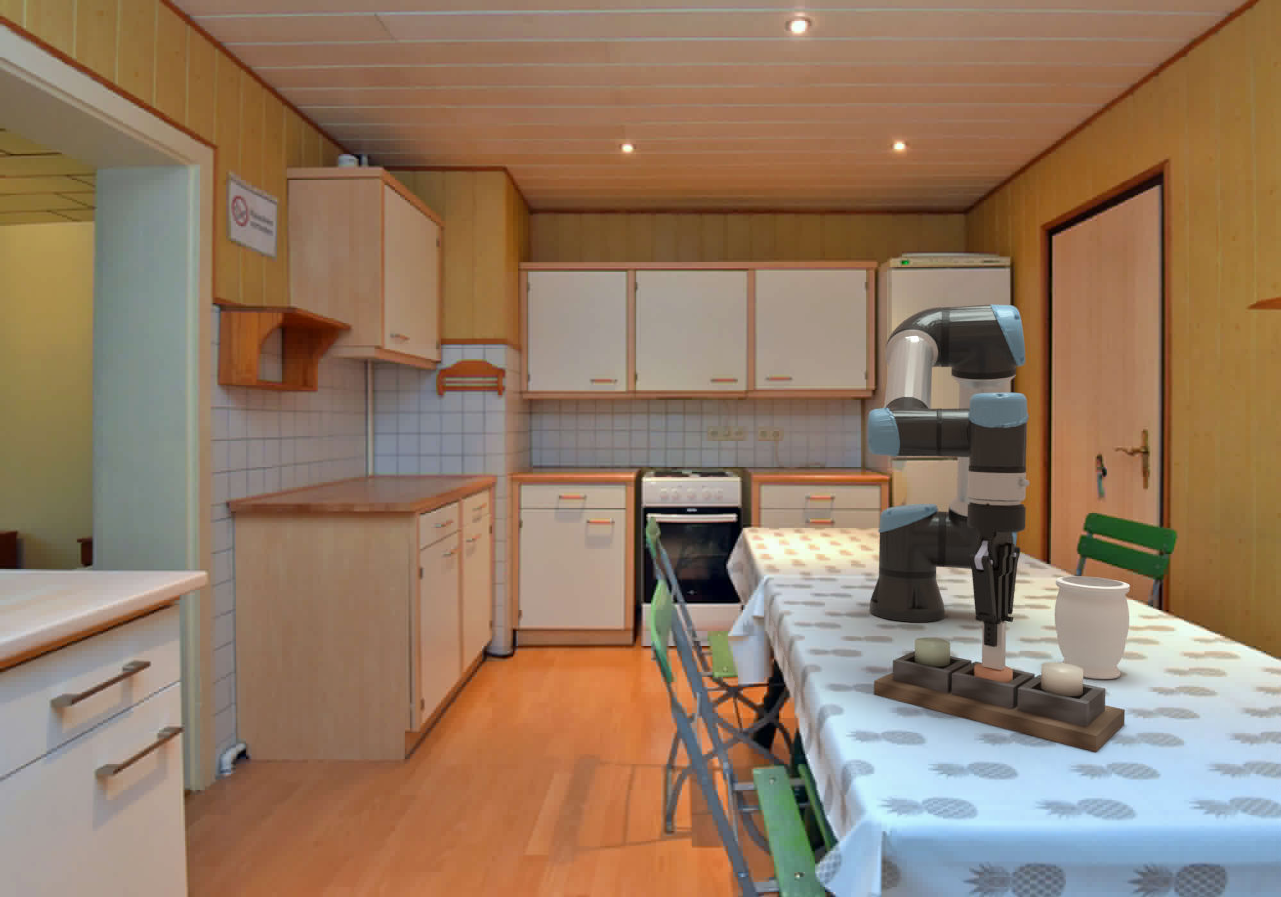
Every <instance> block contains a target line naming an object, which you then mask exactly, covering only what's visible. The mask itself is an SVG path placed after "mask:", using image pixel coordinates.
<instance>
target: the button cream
mask: <svg viewBox="0 0 1281 897" xmlns="http://www.w3.org/2000/svg"><path fill="white" fill-rule="evenodd" d="M1040 668H1041V669H1040V670H1041V671H1040V675H1041V689H1043V690H1044V691H1046V692H1049V693H1053V694H1057V695H1062V696H1080V695H1082V694H1083V684H1084V677H1083V669H1081V668H1080V667H1077V666H1074V665H1070V664H1065V663H1062V662H1056V661H1055V662H1054V661H1051V662H1043V663H1042V664H1041V666H1040Z"/></svg>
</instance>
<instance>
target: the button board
mask: <svg viewBox="0 0 1281 897" xmlns="http://www.w3.org/2000/svg"><path fill="white" fill-rule="evenodd" d="M980 663H982V661H981V662H980V661H974V662H972V660H971V659H967V658H966V659H965V658H960V657H957V656H951V655H950V665H948V666H944V667H932V666H927V665H922V664H919V663H917V662H915V650H913V651H911V652H909V653H905V655H904V654H903V655H902V656H900V657H898V658H895V659H893V660H892V672H891V673H890V672H889V674H886V675H884V676H882V677H880V678H877V679H876V680H874V682H873V695H876V696H879V697H883V698H887V699H892V700H895V701H899V702H903V703H906V704H911V705H915V706H918V707H922V708H925V709H929V710H932V711H933V710H934V711H937V712H941V713H944V714H949V715H953V716H957V717H959V718H964V719H968V720H971V721H976V722H978V723H979V722H980V723H983V724H986V725H990V726H994V727H999V728H1002V729H1005V730H1009V731H1013V732H1014V731H1015V732H1018V733H1021V734H1026V735H1030V736H1032V737H1037V738H1041V739H1044V740H1048V741H1053V742H1055V743H1060V744H1064V745H1066V746H1072V747H1075V748H1079V749H1083V750H1087V751H1091V752H1094V753H1098V751H1099V750H1100V749H1101V748H1102V747H1103V746H1104V745H1105V744H1107V742H1108V741H1109V740H1110V739H1111V738H1112V737H1113V736H1114V735H1115V734H1116V733H1117V732H1118V731H1119V730H1120V729H1122V728H1123V726H1124V725H1125V720H1126V719H1125V717H1126V715H1125V713H1126V712H1125V711H1126V710H1125V709H1124V708H1119V707H1115V706H1111V705H1106V688H1105V687H1101V686H1100V687H1099V686H1096V685H1090V684H1085V683H1083V694H1082V695H1080V696H1062V695H1057V694H1053V693H1049V692H1046V691H1044V690H1043V689H1041V674H1038V675H1037V676H1036V673H1034V672H1029V671H1024V670H1018V669H1013V668H1011V669H1012V670H1013V680H1012V681H1010V682H1009V683H1003V682H999V681H994V680H990V679H985V678H981V677H976V676H974V666H975V665H976V664H980Z"/></svg>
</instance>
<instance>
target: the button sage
mask: <svg viewBox="0 0 1281 897" xmlns="http://www.w3.org/2000/svg"><path fill="white" fill-rule="evenodd" d="M914 651H915V662H917V663H919V664H922V665H927V666H932V667H944V666H948V665H950V656H951V642H950V641H948V640H945V639H942V638H936V637H919V638H915V640H914Z"/></svg>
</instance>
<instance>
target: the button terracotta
mask: <svg viewBox="0 0 1281 897" xmlns="http://www.w3.org/2000/svg"><path fill="white" fill-rule="evenodd" d="M1012 669H1013V668H1011V667H1010V666H1007V665H1005V668H1004V669H1003V670H997V669H993V668H988V667H983V666H982V662H981V663H980V664H976V665H975V666H974V676H976V677H981V678H985V679H990V680H994V681H999V682H1003V683H1009V682H1010V681H1012V680H1013V670H1012Z"/></svg>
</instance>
